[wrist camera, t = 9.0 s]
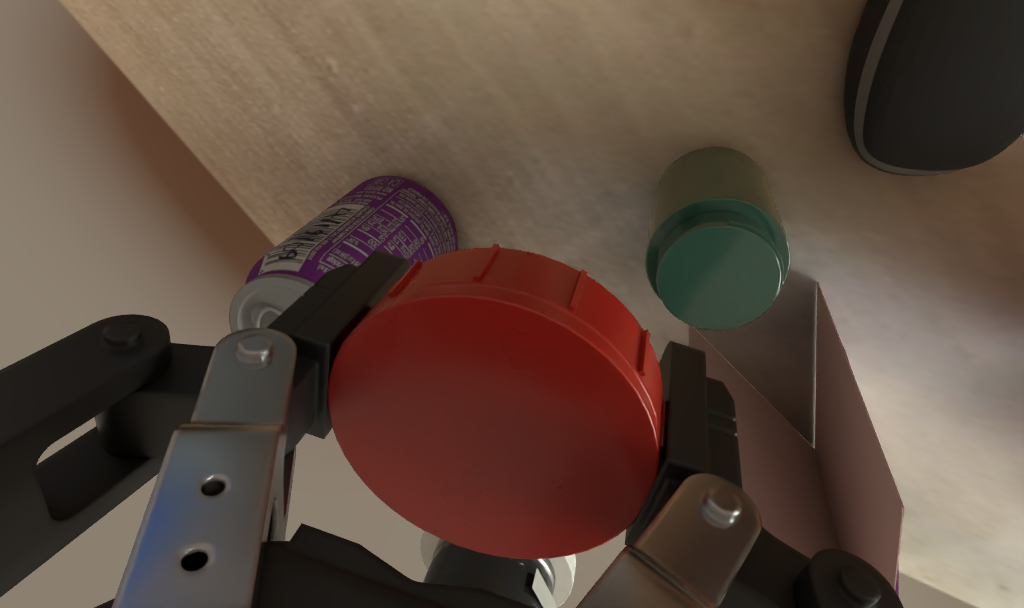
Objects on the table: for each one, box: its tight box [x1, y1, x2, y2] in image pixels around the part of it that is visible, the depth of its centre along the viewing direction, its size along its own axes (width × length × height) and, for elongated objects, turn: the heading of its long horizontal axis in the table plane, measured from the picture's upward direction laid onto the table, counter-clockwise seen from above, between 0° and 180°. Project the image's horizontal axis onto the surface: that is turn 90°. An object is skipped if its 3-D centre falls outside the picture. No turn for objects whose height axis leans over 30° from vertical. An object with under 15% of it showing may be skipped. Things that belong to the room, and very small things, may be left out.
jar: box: [646, 147, 790, 330], centre depth 27 cm, size 6×6×8 cm
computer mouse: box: [844, 0, 1024, 176], centre depth 23 cm, size 7×12×4 cm, turn 178°
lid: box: [328, 244, 666, 559], centre depth 11 cm, size 6×6×2 cm
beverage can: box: [229, 176, 458, 333], centre depth 31 cm, size 7×7×12 cm
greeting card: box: [689, 282, 904, 595], centre depth 29 cm, size 11×7×15 cm, turn 13°
